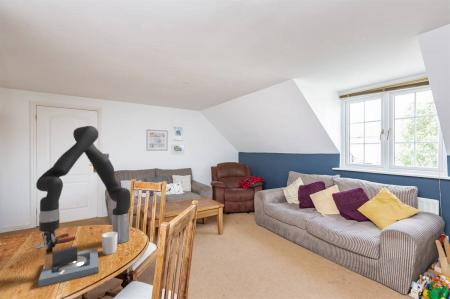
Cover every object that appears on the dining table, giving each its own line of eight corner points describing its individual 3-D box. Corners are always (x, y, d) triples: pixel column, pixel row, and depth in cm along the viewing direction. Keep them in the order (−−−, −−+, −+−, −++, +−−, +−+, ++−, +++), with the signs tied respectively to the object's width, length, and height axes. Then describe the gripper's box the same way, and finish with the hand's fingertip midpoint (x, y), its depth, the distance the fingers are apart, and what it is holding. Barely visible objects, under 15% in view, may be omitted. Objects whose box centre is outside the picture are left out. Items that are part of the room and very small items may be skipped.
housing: (97, 253, 125) (97, 248, 125) (98, 272, 106) (98, 266, 106) (46, 263, 114) (47, 257, 114) (38, 287, 95) (38, 279, 95)
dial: (82, 258, 118) (82, 240, 118) (89, 266, 110) (89, 247, 110) (43, 269, 107) (43, 250, 107) (47, 280, 98) (47, 259, 98)
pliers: (29, 247, 133) (29, 243, 133) (67, 236, 150) (67, 232, 150) (38, 252, 127) (38, 248, 127) (76, 240, 144) (76, 236, 144)
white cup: (120, 250, 130) (120, 232, 130) (109, 256, 122) (109, 237, 122) (109, 248, 132) (109, 231, 132) (98, 254, 125) (98, 235, 125)
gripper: (64, 220, 105) (64, 257, 106) (54, 214, 113) (54, 249, 113) (44, 224, 99) (44, 263, 100) (35, 218, 107) (34, 254, 107)
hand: (49, 255), depth 106 cm, fingers closed
